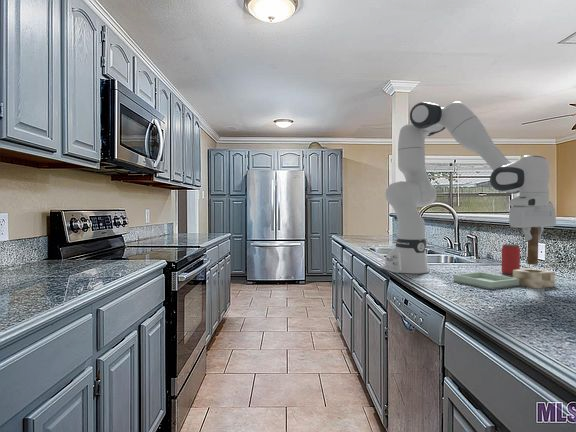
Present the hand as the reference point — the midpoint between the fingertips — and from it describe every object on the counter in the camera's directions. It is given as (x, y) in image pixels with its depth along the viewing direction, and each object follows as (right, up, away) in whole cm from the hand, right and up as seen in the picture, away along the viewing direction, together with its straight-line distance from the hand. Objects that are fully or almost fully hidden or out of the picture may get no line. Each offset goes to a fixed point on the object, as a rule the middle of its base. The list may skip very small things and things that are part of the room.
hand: (532, 239), depth 135 cm
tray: (-15, -16, +3) cm, 22 cm away
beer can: (+6, -16, +23) cm, 29 cm away
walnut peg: (0, -9, 0) cm, 9 cm away
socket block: (0, -16, 0) cm, 16 cm away
